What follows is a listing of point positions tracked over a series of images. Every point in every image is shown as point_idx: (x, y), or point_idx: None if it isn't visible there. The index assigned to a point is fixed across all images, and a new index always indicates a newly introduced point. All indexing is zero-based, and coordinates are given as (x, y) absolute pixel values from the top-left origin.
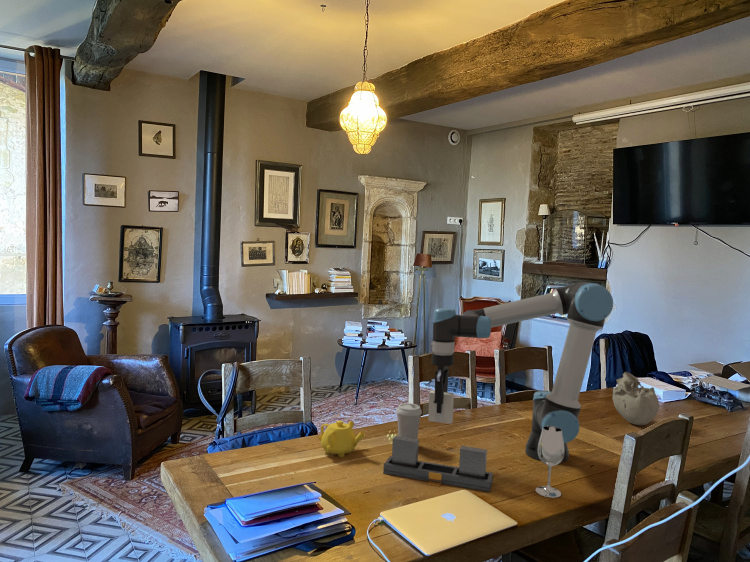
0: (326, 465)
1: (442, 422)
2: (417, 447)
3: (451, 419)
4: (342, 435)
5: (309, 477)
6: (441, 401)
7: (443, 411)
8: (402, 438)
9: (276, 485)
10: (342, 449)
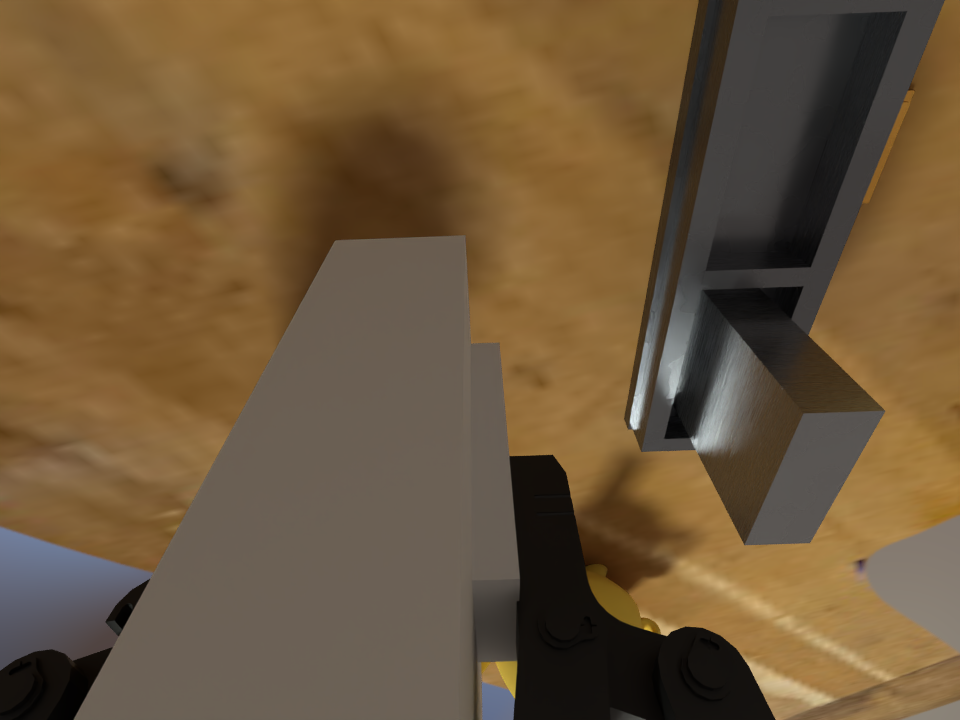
0: (701, 578)
1: (498, 346)
2: (806, 375)
3: (456, 263)
4: None
5: (820, 582)
6: (759, 695)
7: (482, 448)
8: (800, 502)
9: (890, 617)
10: (632, 601)
